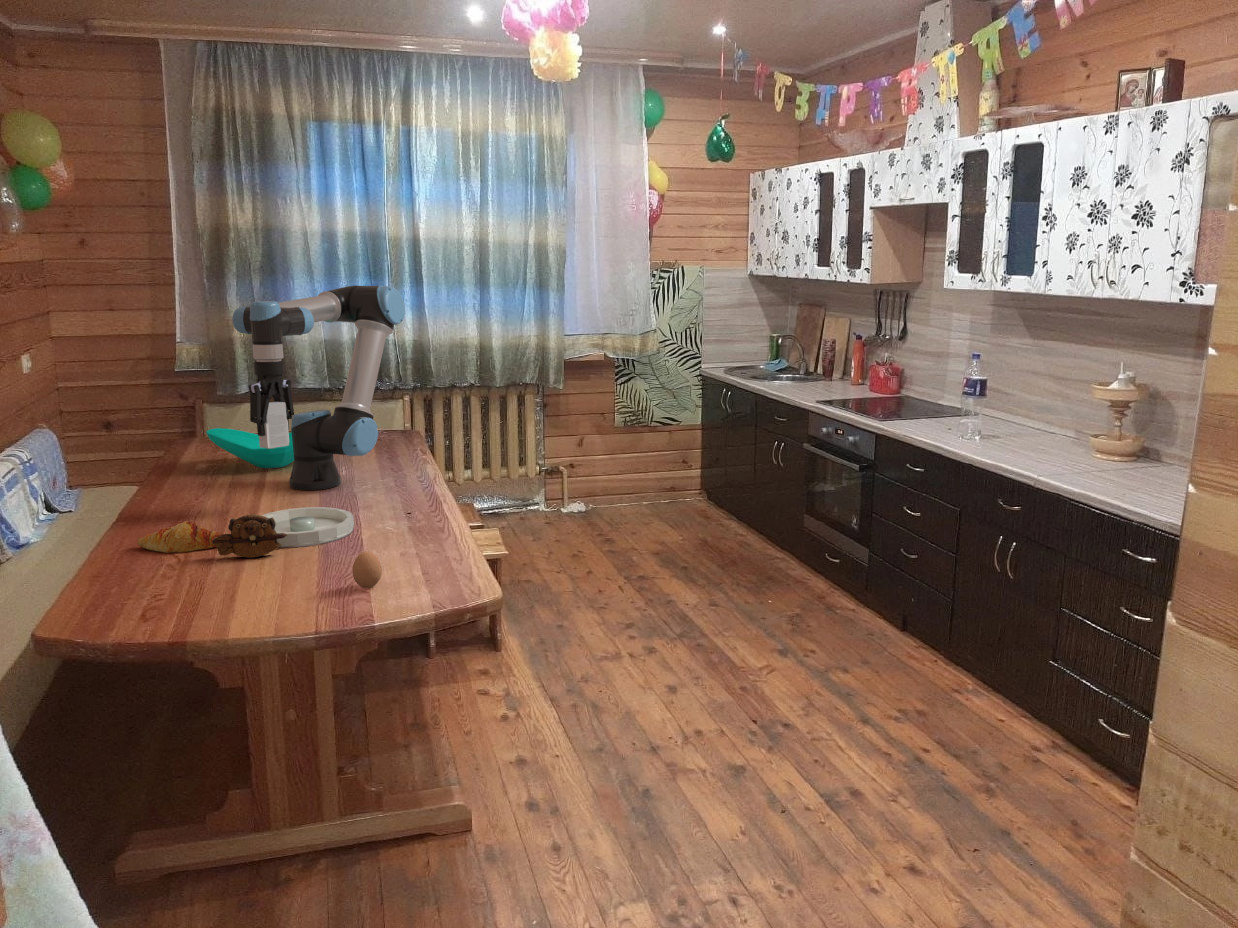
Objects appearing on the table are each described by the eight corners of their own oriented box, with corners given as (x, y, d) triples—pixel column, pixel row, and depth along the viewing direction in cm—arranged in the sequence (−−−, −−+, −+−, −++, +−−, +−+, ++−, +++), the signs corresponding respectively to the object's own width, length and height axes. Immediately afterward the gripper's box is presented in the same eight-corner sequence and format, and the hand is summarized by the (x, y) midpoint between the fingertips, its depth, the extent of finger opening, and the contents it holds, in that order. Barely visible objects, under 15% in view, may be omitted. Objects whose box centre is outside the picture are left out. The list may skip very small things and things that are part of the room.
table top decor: (204, 479, 297) (200, 438, 294) (214, 462, 323) (210, 424, 320) (334, 471, 308) (331, 432, 306) (333, 455, 334) (331, 418, 332)
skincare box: (280, 444, 256) (277, 401, 254) (289, 446, 253) (286, 402, 251) (260, 447, 252) (256, 403, 249) (268, 449, 249) (265, 404, 246)
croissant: (135, 566, 223) (124, 542, 218) (147, 536, 231) (137, 513, 226) (226, 562, 225) (218, 538, 220) (235, 532, 233) (227, 509, 228)
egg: (388, 586, 199) (386, 551, 197) (363, 594, 194) (361, 558, 193) (372, 580, 203) (370, 545, 201) (347, 587, 198) (345, 552, 196)
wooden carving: (212, 563, 214) (208, 521, 212) (215, 557, 219) (211, 516, 217) (288, 557, 219) (285, 516, 217) (289, 551, 223) (286, 511, 221)
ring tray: (295, 516, 254) (294, 503, 253) (373, 525, 245) (372, 512, 245) (228, 541, 231) (226, 527, 230) (310, 552, 222) (309, 538, 222)
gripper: (283, 356, 258) (288, 438, 263) (229, 362, 240) (236, 450, 245) (305, 357, 255) (310, 440, 260) (253, 364, 237) (259, 452, 242)
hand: (274, 445), depth 252 cm, fingers closed on skincare box, 7 cm apart
